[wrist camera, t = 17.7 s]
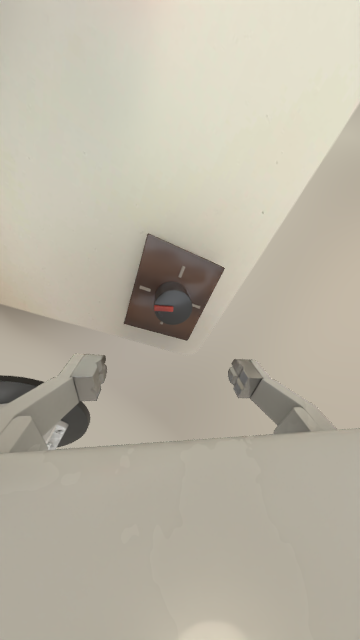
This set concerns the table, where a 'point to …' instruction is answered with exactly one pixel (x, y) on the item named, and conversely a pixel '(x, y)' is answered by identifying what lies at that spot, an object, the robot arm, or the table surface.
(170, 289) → the dial
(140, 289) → the dial panel
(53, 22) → the table surface
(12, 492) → the robot arm
